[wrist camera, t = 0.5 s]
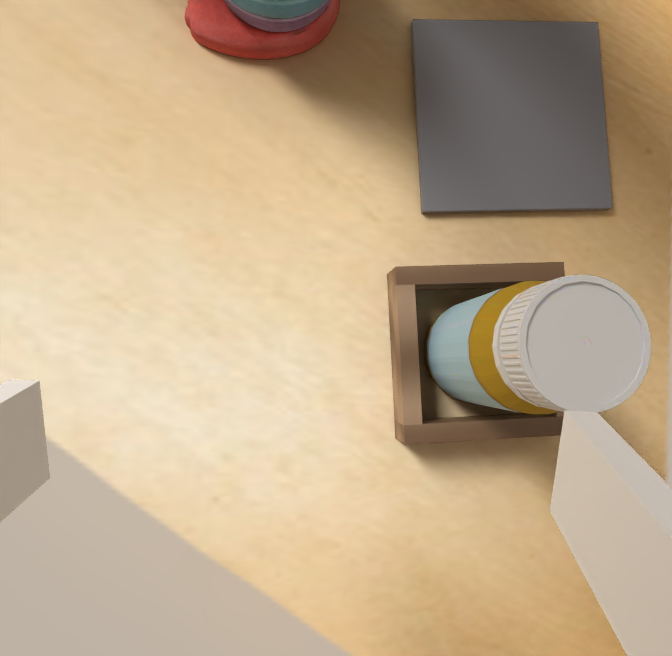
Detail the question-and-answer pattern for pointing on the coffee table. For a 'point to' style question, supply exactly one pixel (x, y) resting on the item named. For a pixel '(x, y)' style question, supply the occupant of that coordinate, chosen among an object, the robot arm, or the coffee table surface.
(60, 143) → the coffee table surface
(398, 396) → the walnut collar
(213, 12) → the stacking bear
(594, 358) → the bottle
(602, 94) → the charcoal mat
